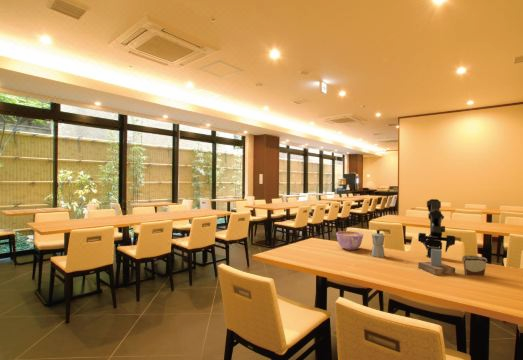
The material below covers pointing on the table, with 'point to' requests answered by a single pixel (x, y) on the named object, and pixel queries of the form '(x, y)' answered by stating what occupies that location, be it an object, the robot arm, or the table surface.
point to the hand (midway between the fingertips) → (436, 250)
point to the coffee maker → (378, 245)
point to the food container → (474, 265)
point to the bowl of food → (349, 239)
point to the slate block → (436, 257)
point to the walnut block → (436, 268)
